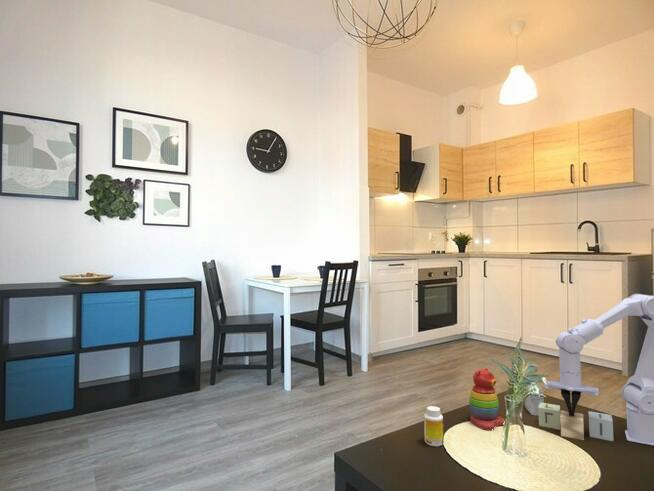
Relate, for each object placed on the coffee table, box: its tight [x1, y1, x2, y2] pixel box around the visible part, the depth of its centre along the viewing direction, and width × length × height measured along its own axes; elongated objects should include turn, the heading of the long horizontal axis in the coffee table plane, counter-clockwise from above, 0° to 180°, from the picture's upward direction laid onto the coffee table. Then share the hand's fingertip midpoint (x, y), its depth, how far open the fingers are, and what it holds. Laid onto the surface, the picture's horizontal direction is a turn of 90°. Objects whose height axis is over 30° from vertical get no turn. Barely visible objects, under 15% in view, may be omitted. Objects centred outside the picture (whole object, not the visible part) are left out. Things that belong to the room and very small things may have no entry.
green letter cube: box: [538, 402, 561, 431], centre depth 131 cm, size 6×6×6 cm
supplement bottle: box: [423, 405, 444, 447], centre depth 118 cm, size 6×6×10 cm
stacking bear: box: [468, 367, 506, 431], centre depth 133 cm, size 11×10×18 cm
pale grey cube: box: [588, 410, 615, 442], centre depth 122 cm, size 6×6×6 cm
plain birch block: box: [560, 410, 585, 441], centre depth 123 cm, size 6×6×6 cm
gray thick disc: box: [524, 389, 545, 417], centre depth 142 cm, size 8×4×9 cm, turn 168°
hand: (571, 414), depth 123 cm, fingers closed
